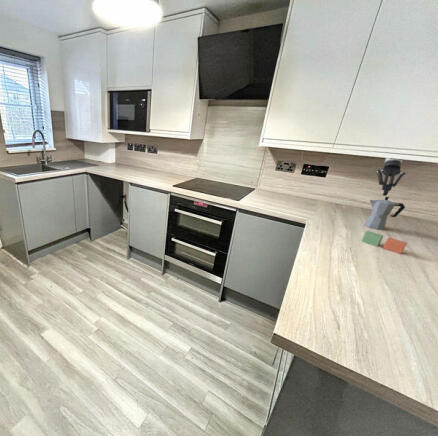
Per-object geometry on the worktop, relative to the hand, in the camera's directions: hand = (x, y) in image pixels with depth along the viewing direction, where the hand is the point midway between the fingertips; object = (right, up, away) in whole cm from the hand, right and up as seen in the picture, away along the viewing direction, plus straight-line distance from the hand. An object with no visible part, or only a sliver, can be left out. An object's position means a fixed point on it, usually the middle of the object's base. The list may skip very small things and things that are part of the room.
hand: (385, 194), depth 139 cm
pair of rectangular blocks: (-31, -28, -28) cm, 50 cm away
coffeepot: (-9, -20, -3) cm, 22 cm away
